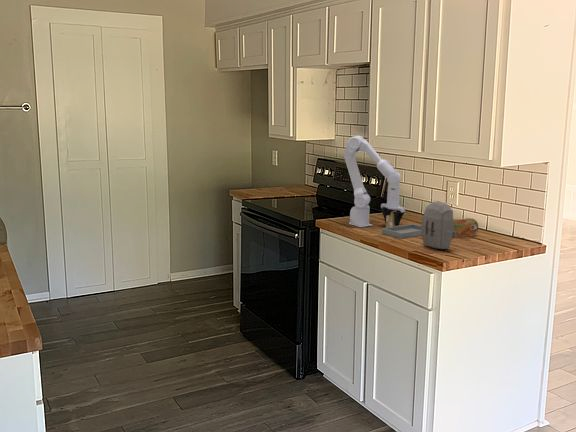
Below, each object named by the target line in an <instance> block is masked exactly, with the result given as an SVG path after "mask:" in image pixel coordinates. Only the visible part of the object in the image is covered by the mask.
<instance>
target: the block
mask: <svg viewBox="0 0 576 432" xmlns="http://www.w3.org/2000/svg"><path fill="white" fill-rule="evenodd" d="M389 227H395V219H394V214H390V215H387V216H386V223H385V228H389Z"/></svg>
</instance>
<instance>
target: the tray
mask: <svg viewBox="0 0 576 432" xmlns="http://www.w3.org/2000/svg"><path fill="white" fill-rule="evenodd" d="M381 233H382V234H381V235H386V236H388V237H392V238H396V239H398V240H399V239H400V240H402V239H409V238H414V237H419V236H421V237H422V234H421V224H420V225H419V224H415V223H409V224H404V225H399V226H395V227H389V228H386V227H383V228H382V230H381Z"/></svg>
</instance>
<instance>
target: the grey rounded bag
mask: <svg viewBox="0 0 576 432" xmlns="http://www.w3.org/2000/svg"><path fill="white" fill-rule="evenodd" d="M453 219H454V211H453V209H452V207H451V206H450V205H449V204H448V203H446V202H443V201H439V200H437V201H435V200H434V201H432V202H430V203H429V204H428V205H427V206H426V207H425V209H424V213H423V215H422V223H421V224H420V226H421V234H422V235H421V237H422V242H423V244H424V245H425V246H428V247H430V248H432V249H437V250H447V249H449V248H450V246H451V243H452V240H453V236H452V234H453Z"/></svg>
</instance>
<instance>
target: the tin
mask: <svg viewBox="0 0 576 432" xmlns="http://www.w3.org/2000/svg"><path fill="white" fill-rule="evenodd" d="M478 231H479V223H478V221H477V220H476V219H474V218H453V234H452V238H470V237H474V236H475V235H476V234H478V233H477V232H478Z"/></svg>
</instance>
